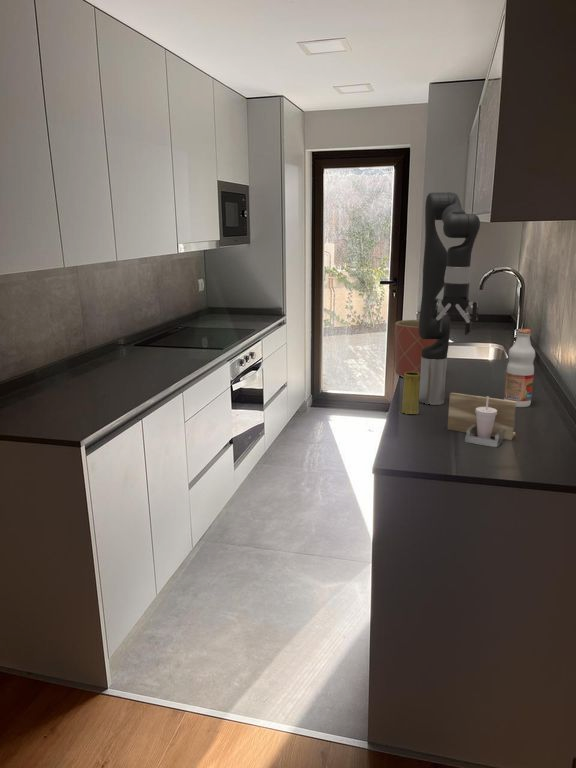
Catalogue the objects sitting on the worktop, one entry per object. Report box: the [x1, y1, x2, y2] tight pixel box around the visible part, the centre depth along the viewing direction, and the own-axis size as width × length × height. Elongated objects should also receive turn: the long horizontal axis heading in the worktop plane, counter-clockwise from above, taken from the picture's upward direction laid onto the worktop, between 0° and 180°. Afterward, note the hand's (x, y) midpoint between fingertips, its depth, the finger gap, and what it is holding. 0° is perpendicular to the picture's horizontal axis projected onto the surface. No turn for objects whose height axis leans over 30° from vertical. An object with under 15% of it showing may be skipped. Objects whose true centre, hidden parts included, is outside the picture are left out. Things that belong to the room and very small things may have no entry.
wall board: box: [446, 392, 517, 441], centre depth 187 cm, size 5×20×12 cm, turn 58°
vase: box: [400, 372, 420, 415], centre depth 208 cm, size 6×6×14 cm
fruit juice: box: [503, 328, 536, 408], centre depth 217 cm, size 9×9×28 cm
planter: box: [394, 319, 437, 377], centre depth 262 cm, size 23×23×24 cm
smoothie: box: [475, 395, 497, 439], centre depth 180 cm, size 6×6×14 cm
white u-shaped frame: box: [464, 423, 505, 448], centre depth 181 cm, size 9×10×4 cm
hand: (452, 333), depth 186 cm, fingers open, 8 cm apart
